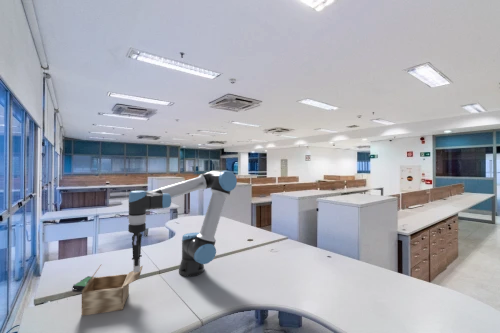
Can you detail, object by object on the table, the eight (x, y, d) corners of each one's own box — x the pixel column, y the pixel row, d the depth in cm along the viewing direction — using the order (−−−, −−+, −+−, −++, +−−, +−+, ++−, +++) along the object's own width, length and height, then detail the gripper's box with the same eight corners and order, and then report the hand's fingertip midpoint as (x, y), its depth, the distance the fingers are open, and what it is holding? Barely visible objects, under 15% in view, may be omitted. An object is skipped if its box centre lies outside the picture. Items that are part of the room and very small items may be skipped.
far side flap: (81, 291, 103) (91, 276, 104) (92, 276, 116) (101, 264, 117) (82, 291, 103) (92, 277, 104) (92, 277, 116) (101, 264, 117)
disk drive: (112, 283, 132) (87, 280, 134) (112, 278, 132) (87, 275, 133) (98, 293, 121) (71, 290, 123) (98, 287, 121) (71, 285, 123)
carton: (128, 292, 121) (129, 273, 121) (122, 310, 107) (122, 288, 107) (92, 297, 117) (92, 277, 116) (81, 316, 102) (81, 293, 102)
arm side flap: (129, 273, 121) (142, 266, 122) (123, 287, 108) (138, 278, 109) (128, 272, 120) (142, 265, 122) (123, 286, 108) (138, 278, 109)
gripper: (131, 220, 120) (130, 266, 120) (125, 227, 108) (125, 278, 108) (147, 219, 122) (146, 265, 123) (143, 226, 110) (143, 276, 110)
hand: (136, 271), depth 115 cm, fingers closed
